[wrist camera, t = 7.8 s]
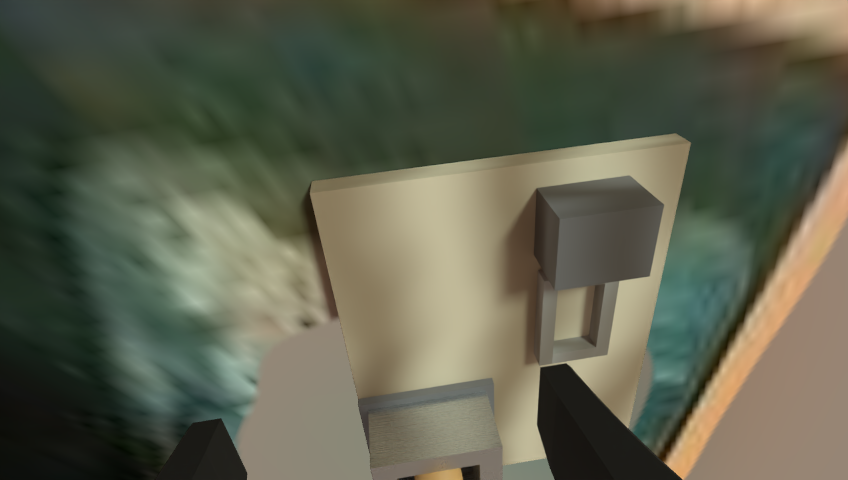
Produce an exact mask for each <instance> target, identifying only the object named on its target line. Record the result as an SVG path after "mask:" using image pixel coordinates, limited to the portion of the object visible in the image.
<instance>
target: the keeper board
mask: <svg viewBox="0 0 848 480" xmlns="http://www.w3.org/2000/svg"><path fill="white" fill-rule="evenodd" d="M690 145H691V142H689V141H687V140H686V139H684V138H682V137H681V136H679V135H677V134H669V135H661V136H653V137H646V138H638V139H630V140H623V141H615V142H608V143H600V144H592V145H585V146H577V147H570V148H562V149H554V150H547V151H539V152H532V153H524V154H516V155H509V156H501V157H494V158H486V159H478V160H471V161H463V162H455V163H448V164H440V165H433V166H425V167H417V168H410V169H402V170H395V171H387V172H379V173H372V174H364V175H357V176H349V177H341V178H334V179H326V180H319V181H312V183H311V189H310V196H311V200H312V205H313V209H314V213H315V217H316V222H317V226H318V230H319V234H320V239H321V243H322V247H323V251H324V256H325V260H326V264H327V268H328V273H329V277H330V281H331V285H332V290H333V294H334V298H335V302H336V307H337V311H338V315H339V319H340V324H341V328H342V332H343V336H344V340H345V345H346V349H347V353H348V358H349V362H350V366H351V370H352V375H353V379H354V383H355V387H356V392H357V396H358V399H362V398H368V397H374V396H380V395H386V394H393V393H399V392H405V391H411V390H418V389H424V388H430V387H436V386H443V385H449V384H455V383H461V382H468V381H474V380H480V379H486V378H492V379H493V382H494V419H495V423H496V426H497V429H498V433H499V436H500V439H501V443H502V446H503V465H508V464H514V463H520V462H526V461H532V460H537V459H543V458H547V457H546V454H545V450H544V447H543V444H542V440H541V437H540V434H539V430H538V427H537V413H538V397H539V380H540V367H545V366H552V365H558V364H564V363H567V364H568V365H569V366H571V367H572V369H573V370H574V371H575V372H576V373H577V374H578V376H579V377H580V378H581V379H582V380H583V381H584V382H585V383H586V385H587V386H588V387H589V388H590V389H591V390H592V391H593V392H594V393H595V394H596V396H597V397H598V398H599V399H600V400H601V401H602V402H603V403H604V404H605V405H606V406H607V407H608V408H609V409H610V410H611V411H612V413H613V414H614V415H615V416H616V417H617V418H618V419H619V420H620V421H621V422H622V423H623V424H624V425H625V426H626V427H627V428H629V423H630V418H631V414H632V409H633V405H634V400H635V396H636V391H637V386H638V382H639V378H640V373H641V368H642V364H643V359H644V355H645V350H646V346H647V341H648V336H649V332H650V327H651V323H652V318H653V314H654V309H655V304H656V300H657V295H658V291H659V286H660V282H661V277H662V272H663V268H664V263H665V259H666V254H667V250H668V245H669V240H670V236H671V231H672V227H673V222H674V218H675V213H676V208H677V204H678V199H679V195H680V190H681V186H682V181H683V176H684V172H685V167H686V163H687V158H688V154H689V149H690Z"/></svg>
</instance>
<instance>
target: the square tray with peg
mask: <svg viewBox="0 0 848 480" xmlns="http://www.w3.org/2000/svg"><path fill="white" fill-rule="evenodd" d="M481 391H486V392H487V396H488V399H489V403H490V406H491V409H492V413H493V416H494V382H493V379H492V378H486V379H480V380H474V381H468V382H461V383H455V384H449V385H443V386H436V387H430V388H424V389H418V390H411V391H405V392H399V393H393V394H386V395H380V396H374V397H368V398H362V399H358V407H359V411H360V415H361V419H362V423H363V428H364V432H365V436H366V440H367V444H368V449H369V453H370V443H369V416H368V410H369V409H375V408H381V407H387V406H394V405H400V404H406V403H412V402H419V401H425V400H431V399H438V398H444V397H450V396H456V395H463V394H469V393H475V392H481ZM414 477H415V480H463V477H462V472H461V468H457V469H451V470H445V471H439V472H433V473H427V474H421V475H415V476H414Z"/></svg>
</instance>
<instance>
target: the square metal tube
mask: <svg viewBox="0 0 848 480" xmlns="http://www.w3.org/2000/svg"><path fill="white" fill-rule="evenodd" d="M368 416H369V443H370V469H371V473H372V477H373V480H415V477H414V476H415V475H421V474H427V473H433V472H439V471H445V470H451V469H457V468H461V472H462V477H463V480H502V467H503V446H502V443H501V439H500V436H499V433H498V429H497V426H496V423H495V419H494V416H493V413H492V409H491V406H490V403H489V399H488V396H487V392H486V391H481V392H475V393H469V394H463V395H456V396H450V397H444V398H438V399H431V400H425V401H419V402H412V403H406V404H400V405H394V406H387V407H381V408H375V409H369V410H368Z"/></svg>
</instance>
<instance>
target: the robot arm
mask: <svg viewBox="0 0 848 480" xmlns="http://www.w3.org/2000/svg"><path fill="white" fill-rule="evenodd" d="M537 427H538V430H539V434H540V437H541V440H542V444H543V447H544V450H545V454H546V457H547V460H548V463H549V466H550V469H551V472H552V474H553V476H554V479H555V480H682V479H681V478H680V477H679V476H678V475H677V474H676V473H675V472H674V471H672V470H671V469H670V468H669V467H668V466H667V465H666V464H665V463H664V462H662V461H661V460H660V459H659V458H658V457H657V456H656V455H655V454H654V453H653V452H652V451H651V450H650V449H649V448H648V447H646V446H645V445H644V444H643V443H642V442H641V441H640V440H639V439H638V438H637V437H636V436H635V435H634V434H633V433H632V432H631V431H630V430H629V429H628V428H627V427H626V426H625V425H624V424H623V423H622V422H621V421H620V420H619V419H618V418H617V417H616V416H615V415H614V414H613V413H612V411H611V410H610V409H609V408H608V407H607V406H606V405H605V404H604V403H603V402H602V401H601V400H600V399H599V398H598V397H597V396H596V394H595V393H594V392H593V391H592V390H591V389H590V388H589V387H588V386H587V385H586V383H585V382H584V381H583V380H582V379H581V378H580V377H579V376H578V374H577V373H576V372H575V371H574V370H573V369H572V367H571V366H569V365H568V364H567V363H564V364H558V365H552V366H545V367H540V380H539V397H538V413H537ZM155 480H247V472H246V469H245V467H244V465H243V463H242V461H241V459H240V457H239V455H238V453H237V450H236V448H235V446H234V444H233V442H232V440H231V438H230V436H229V434H228V432H227V429H226V427H225V425H224V423H223V421H222V419H221V418H220V419H214V420H208V421H202V422H195V423H193V424H192V425H191V426H190V427H189V429H188V430H187V432H186V433H185V435H184V436H183V438H182V439H181V441H180V442H179V444H178V445H177V447H176V448H175V450H174V452H173V453H172V455H171V456H170V458H169V459H168V461H167V462H166V464H165V465H164V467H163V468H162V470H161V471H160V473H159V474H158V476H157V477H156V479H155Z"/></svg>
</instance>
